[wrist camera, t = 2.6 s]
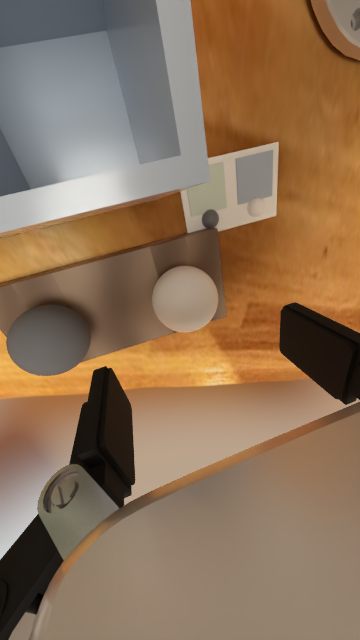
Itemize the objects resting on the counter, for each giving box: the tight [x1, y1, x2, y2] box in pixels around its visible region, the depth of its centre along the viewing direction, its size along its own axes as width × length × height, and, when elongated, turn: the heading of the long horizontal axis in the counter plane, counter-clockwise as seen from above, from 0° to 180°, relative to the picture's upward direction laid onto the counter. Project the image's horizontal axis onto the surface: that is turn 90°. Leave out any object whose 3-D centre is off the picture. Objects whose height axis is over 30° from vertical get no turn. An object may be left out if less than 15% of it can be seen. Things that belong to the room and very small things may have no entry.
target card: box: [180, 142, 279, 233], centre depth 16 cm, size 8×5×1 cm, turn 102°
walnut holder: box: [0, 228, 227, 376], centre depth 17 cm, size 18×8×2 cm, turn 102°
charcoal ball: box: [6, 305, 91, 376], centre depth 14 cm, size 5×5×5 cm
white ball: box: [152, 266, 218, 332], centre depth 15 cm, size 5×5×5 cm
